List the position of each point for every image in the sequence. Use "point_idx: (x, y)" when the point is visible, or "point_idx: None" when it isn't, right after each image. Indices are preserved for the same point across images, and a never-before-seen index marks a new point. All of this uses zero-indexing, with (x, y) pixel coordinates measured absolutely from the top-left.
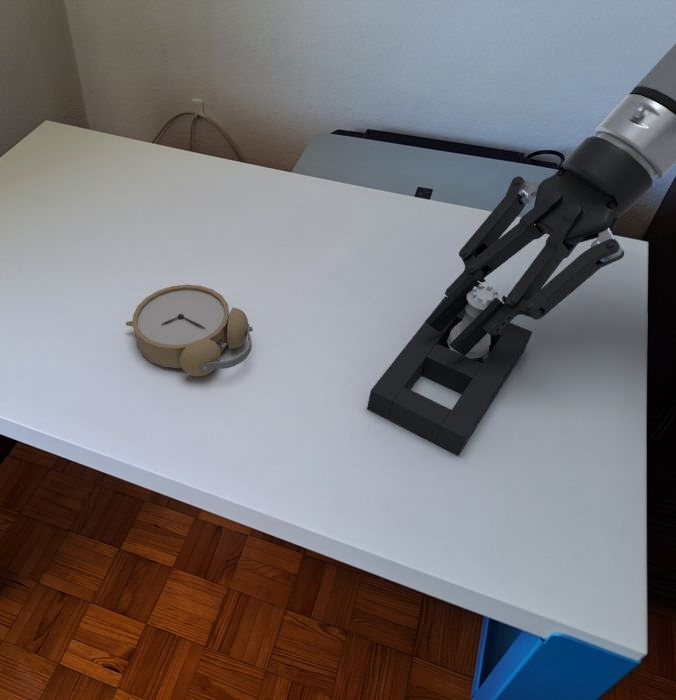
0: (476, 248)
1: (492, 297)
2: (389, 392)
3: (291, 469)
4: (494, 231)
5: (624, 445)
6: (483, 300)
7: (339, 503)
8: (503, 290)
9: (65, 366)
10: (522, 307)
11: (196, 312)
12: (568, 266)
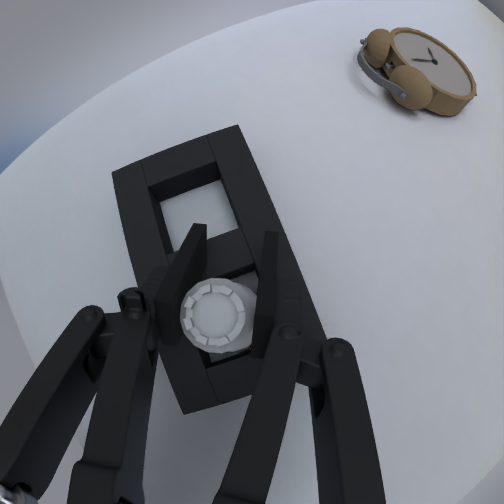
0: (324, 378)
1: (197, 323)
2: (219, 139)
3: (225, 58)
4: (328, 448)
5: (39, 354)
6: (203, 298)
7: (170, 72)
8: (305, 472)
9: (412, 20)
10: (111, 319)
11: (437, 73)
12: (34, 420)
